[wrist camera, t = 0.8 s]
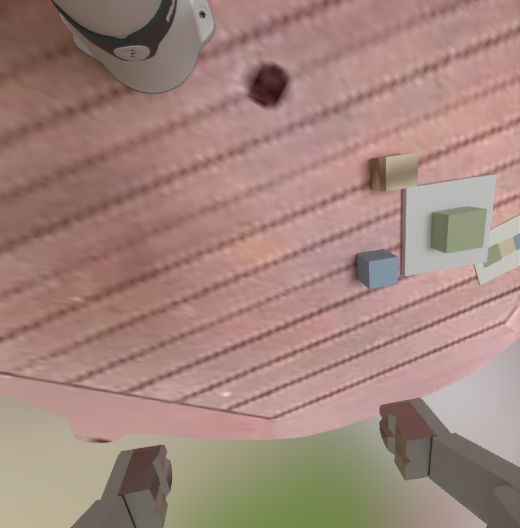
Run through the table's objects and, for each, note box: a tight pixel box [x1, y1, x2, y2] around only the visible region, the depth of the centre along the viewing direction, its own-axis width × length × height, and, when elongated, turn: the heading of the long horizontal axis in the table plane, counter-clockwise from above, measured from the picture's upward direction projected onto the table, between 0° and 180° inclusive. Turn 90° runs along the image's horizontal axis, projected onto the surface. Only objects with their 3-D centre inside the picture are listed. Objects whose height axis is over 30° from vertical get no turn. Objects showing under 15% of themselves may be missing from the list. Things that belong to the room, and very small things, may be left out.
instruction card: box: [474, 214, 520, 285], centre depth 55 cm, size 10×14×1 cm
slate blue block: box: [357, 249, 398, 289], centre depth 51 cm, size 5×5×5 cm
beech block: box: [371, 152, 418, 191], centre depth 46 cm, size 5×5×5 cm
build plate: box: [401, 174, 497, 276], centre depth 50 cm, size 16×16×5 cm
